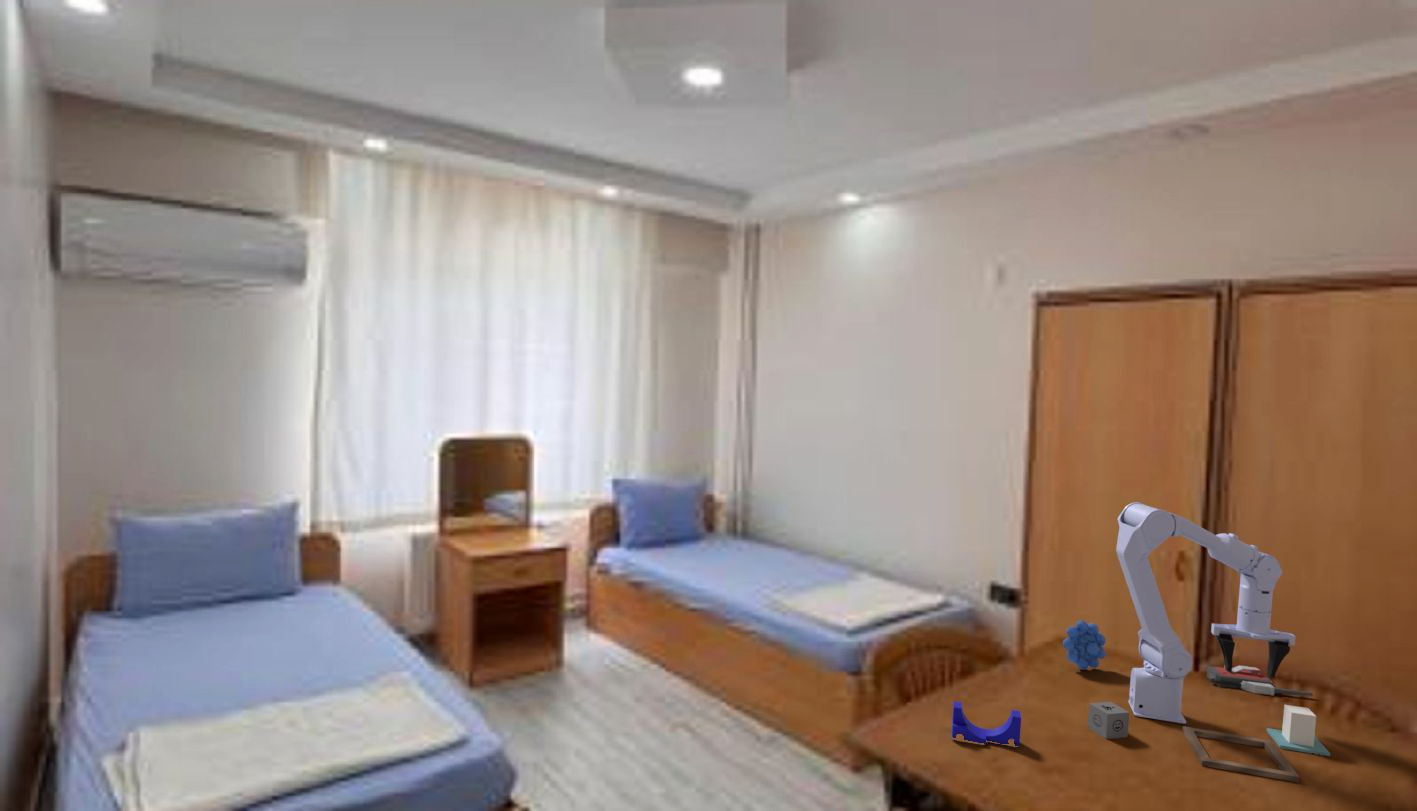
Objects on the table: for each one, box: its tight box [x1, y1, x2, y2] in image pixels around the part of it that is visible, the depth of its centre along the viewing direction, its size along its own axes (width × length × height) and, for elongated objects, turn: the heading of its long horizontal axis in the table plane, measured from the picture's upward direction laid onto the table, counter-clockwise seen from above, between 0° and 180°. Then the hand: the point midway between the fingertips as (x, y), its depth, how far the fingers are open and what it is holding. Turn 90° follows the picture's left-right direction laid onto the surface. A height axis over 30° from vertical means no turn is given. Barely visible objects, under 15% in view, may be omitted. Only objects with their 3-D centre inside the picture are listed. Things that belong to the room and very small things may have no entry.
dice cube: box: [1087, 701, 1130, 740], centre depth 158 cm, size 5×5×5 cm
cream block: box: [1281, 704, 1317, 747], centre depth 157 cm, size 4×4×6 cm
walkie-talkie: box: [1206, 665, 1313, 697], centre depth 186 cm, size 9×4×20 cm
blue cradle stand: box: [951, 701, 1022, 747], centre depth 152 cm, size 12×4×6 cm, turn 74°
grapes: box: [1062, 619, 1107, 671], centre depth 191 cm, size 12×7×12 cm, turn 104°
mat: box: [1266, 727, 1331, 757], centre depth 157 cm, size 8×8×1 cm
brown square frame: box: [1182, 726, 1301, 784], centre depth 151 cm, size 15×15×1 cm
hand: (1249, 673), depth 168 cm, fingers open, 7 cm apart
